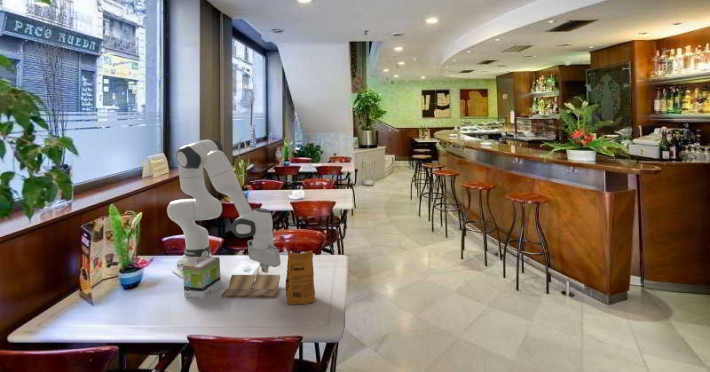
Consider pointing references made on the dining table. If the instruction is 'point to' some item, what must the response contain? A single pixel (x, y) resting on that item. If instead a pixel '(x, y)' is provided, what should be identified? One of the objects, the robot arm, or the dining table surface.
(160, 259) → the dining table surface
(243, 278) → the plank
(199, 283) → the tea box
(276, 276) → the plank
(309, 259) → the coffee package
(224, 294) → the floor strip
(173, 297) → the dining table surface
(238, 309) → the dining table surface
